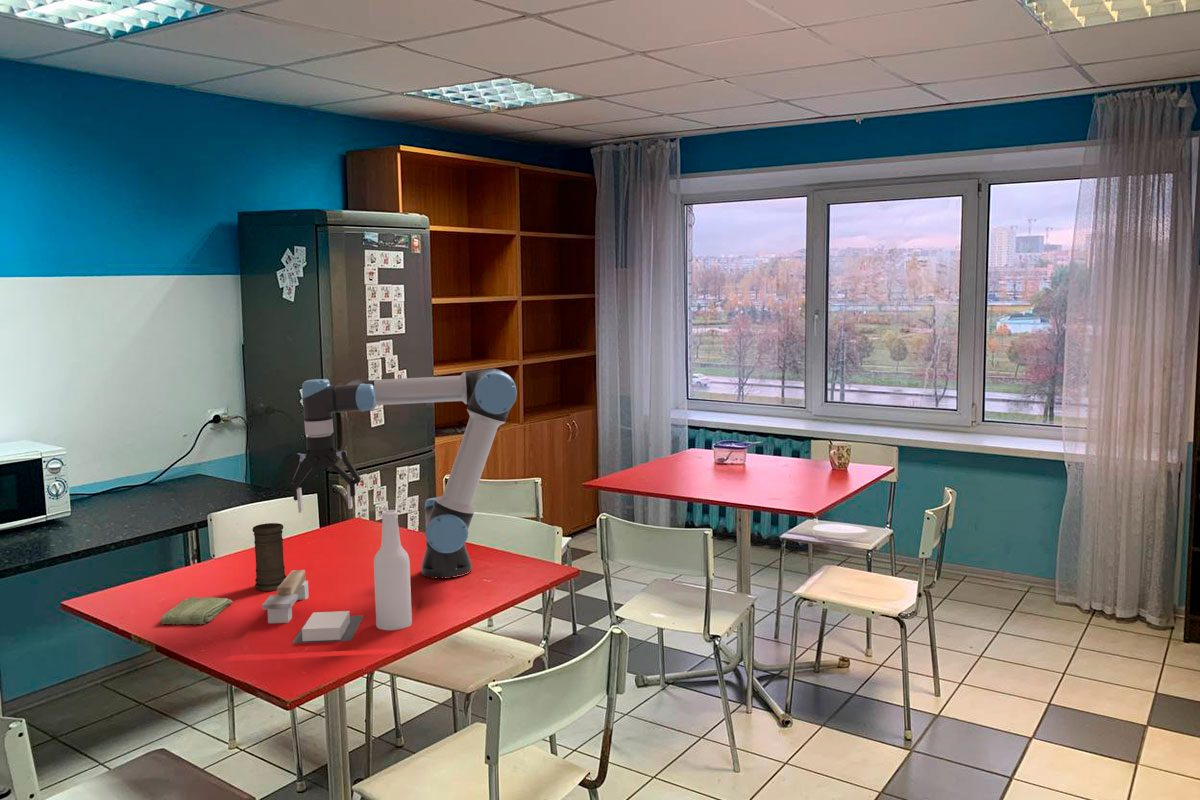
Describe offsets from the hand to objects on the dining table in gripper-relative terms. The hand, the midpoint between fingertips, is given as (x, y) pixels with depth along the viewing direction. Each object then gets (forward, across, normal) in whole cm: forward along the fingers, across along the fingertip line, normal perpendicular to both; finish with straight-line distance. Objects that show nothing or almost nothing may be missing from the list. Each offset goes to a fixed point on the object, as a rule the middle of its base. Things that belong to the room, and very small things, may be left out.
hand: (325, 509), depth 260 cm
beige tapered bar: (+19, +9, +15) cm, 26 cm away
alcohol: (+25, -20, +31) cm, 45 cm away
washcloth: (+24, +33, +12) cm, 43 cm away
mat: (+24, -4, +32) cm, 41 cm away
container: (+24, +19, -10) cm, 32 cm away
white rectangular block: (+22, -4, +29) cm, 36 cm away
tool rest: (+24, +9, +15) cm, 29 cm away
